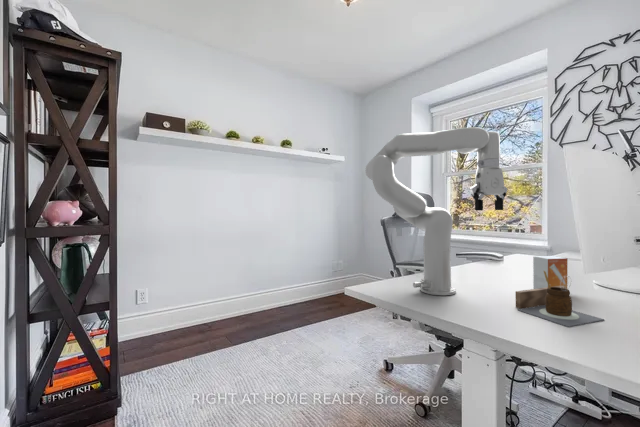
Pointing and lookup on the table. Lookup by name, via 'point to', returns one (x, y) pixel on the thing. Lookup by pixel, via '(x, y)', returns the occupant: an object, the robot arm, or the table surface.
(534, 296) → the low wall
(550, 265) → the small box
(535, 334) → the table surface
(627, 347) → the table surface
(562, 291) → the utensil holder
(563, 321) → the mat
